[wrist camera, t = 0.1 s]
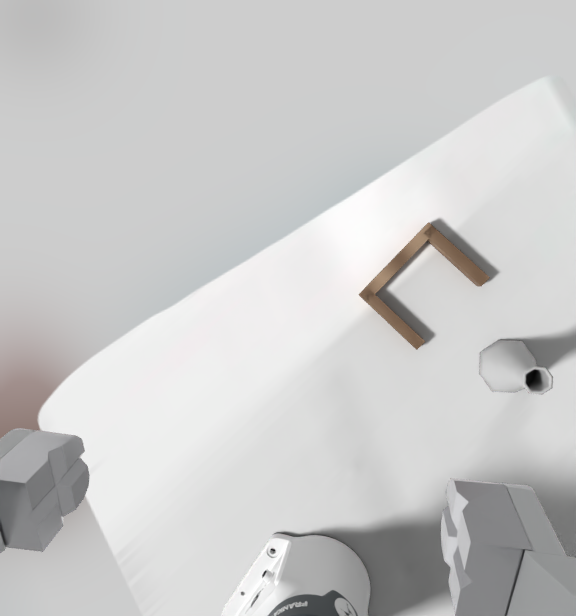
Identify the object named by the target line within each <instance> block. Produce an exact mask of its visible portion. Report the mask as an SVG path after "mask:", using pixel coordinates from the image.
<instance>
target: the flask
mask: <svg viewBox="0 0 576 616" xmlns="http://www.w3.org/2000/svg"><path fill="white" fill-rule="evenodd" d="M479 374H480V375H481V377H482V378H483V379H484V381H485V382H486V384H487V385H488V386H489V388H490V389H491V390H492V391H494V392H513V393H515V392H518V391H520V390H522V389H526V390H527V392H528V393H529V394H544V393H545V392H547V391H548V390H550V389H552V383H553V376H552V375H551V374H550V372H549V371H548V370H547V368H546V367H539V366H537V365H536V360H535V358H534V356H533V355H532V354H531V352H530V351H529V350H528V348H527V347H526V346H525V344H524V343H523V342H522V341H515V340H498V341H496V342H495V343H493V344H492V345H490V346H489V347H487V348H486V349H484V350H483V351H481V352H480V366H479Z"/></svg>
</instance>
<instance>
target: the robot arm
mask: <svg viewBox="0 0 576 616" xmlns="http://www.w3.org/2000/svg"><path fill="white" fill-rule="evenodd" d="M84 451H85V450H84V446H83V441H82V439H81V438H79V437H78V436H75V435H68V434H61V433H53V432H46V431H35V430H29V429H21V428H18V429H14V430H11V431H9V433H7V434H6V435H5V436H3V437H2V438H1V439H0V553H1V552H2V551H4V550H5V547H9V548H17V549H25V550H34V551H42V552H43V551H44V550H45V548H46V547H47V546H48V545H49V543H50V542H51V541H52V539H53V538H54V537H55V536H56V534H57V533H58V532H59V531H60V529H61V528H62V527H63V516H65V515H67V514H69V513H70V512H72V511H74V510H76V508H77V507H78V506H79V504H80V503H81V501H82V500H83V499H84V496H85V494H86V491H87V489H88V486H89V471H88V466H87V465H86V464H85V463H84V462H83V461H82V459H81V458H80V457H81V456H82V454H83V453H84ZM446 496H447V500H448V505H449V506H448V507H446V508H445V509H444V510H443V513H442V520H441V544H442V552H443V557H444V561H445V562H446V563H447V564H448V565H449V567H450V568H451V569H450V575H449V580H448V583H449V588H450V593H451V597H452V602H453V607H454V612H455V616H576V557H571V556H567V555H566V553H565V551H564V549H563V547H562V545H561V543H560V541H559V539H558V537H557V535H556V533H555V531H554V529H553V527H552V525H551V523H550V521H549V519H548V517H547V515H546V513H545V511H544V509H543V507H542V505H541V503H540V501H539V499H538V497H537V495H536V493H535V491H534V489H532V488H531V487H530V486H529V485H519V484H508V483H502V484H500V483H493V482H483V481H474V480H464V479H455V478H450V480H449V482H448V485H447V490H446ZM271 548H274V549H275V550H276V551H272V550H271ZM370 592H371V589H370V580H369V576H368V573H367V570H366V568H365V566H364V564H363V563H362V561H361V560H360V558H359V557H358V556H357V554H356V553H355V552H354V551H353V550H351V549H350V548H349V547H348V546H346V545H345V544H343V543H342V542H340V541H338V540H335V539H333V538H330V537H326V536H320V535H309V536H302V537H292V536H289V535H285V534H273V535H272V536H271V537H270V538H269V540H268V541H267V543H266V544H265V546H264V547H263V549H262V550H261V552H260V553H259V555H258V556H257V558H256V559H255V561H254V562H253V564H252V565H251V567H250V568H249V570H248V571H247V573H246V574H245V576H244V577H243V579H242V580H241V582H240V583H239V585H238V586H237V588H236V589H235V591H234V592H233V594H232V595H231V597H230V598H229V600H228V601H227V603H226V604H225V606H224V608H223V611H222V616H369V615H368V606H369V600H370Z"/></svg>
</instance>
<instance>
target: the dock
mask: <svg viewBox="0 0 576 616" xmlns="http://www.w3.org/2000/svg"><path fill="white" fill-rule="evenodd" d="M426 241H428V242H429V243H430V244H431V245H432V246H434V247H435V248H436V249H437V250H438V251H439V252H440V253H441V254H442V255H443V256H445V257H446V258H447V259H448V260H449V261H450V262H451V263H452V264H453V265H454V266H455V267H457V268H458V269H459V270H460V271H461V272H462V273H463V274H464V275H465V276H466V277H468V278H469V279H470V280H471V281H472V282H473V283H474V284H475V285H476V286H482V285H483V284H484V283H485V282H486V281H487V280H488V279H489V278H490V277H489V276H487V275H486V274H485V273H484V272H483V271H482V270H481V269H480V268H479V267H478V266H476V265H475V264H474V263H473V262H472V261H471V260H470V259H469V258H468V257H467V256H465V255H464V254H463V253H462V252H461V251H460V250H459V249H458V248H457V247H456V246H454V245H453V244H452V243H451V242H450V241H449V240H448V239H447V238H446V237H445V236H443V235H442V234H441V233H440V232H439V231H438V230H437V229H436V228H435V227H434V226H432V225H431V224H430V223H427V224H426V225H425V227H424V228H423V229H422V230H421V231H420V232H419V233H418V234H417V235H416V236H415V237H414V238H413V239H412V240H411V241H410V242H409V243H408V244H407V245H406V246H405V247H404V248H403V249H402V250H401V251H400V252H399V253H398V254H397V255H396V256H395V258H394V259H393V260H392V261H391V262H390V263H389V264H388V265H387V266H386V267H385V268H384V269H383V270H382V271H381V272H380V273H379V274H378V275H377V276H376V277H375V278H374V279H373V280H372V281H371V282H370V283H369V284H368V285H367V286H366V288H365V289H364V290H363V291H362V292H361V293H360V294H359V296H360V297H362V298H363V299H364V300H365V301H366V302H367V303H368V304H369V305H370V306H371V307H372V308H373V309H374V310H375V311H376V312H377V313H378V314H380V315H381V316H382V317H383V318H384V319H385V320H386V321H387V322H388V323H389V324H390V325H391V326H392V327H393V328H394V329H395V330H396V331H398V332H399V333H400V334H401V335H402V336H403V337H404V338H405V339H406V340H407V341H408V342H409V343H410V344H411V345H412V346H413V347H415V348H416V349H418V348H419V347H420V346H421V345H422V344H423V343H424V342H425V341H424V340H423V339H422V338H421V337H420V336H419V335H418V334H417V333H416V332H414V331H413V330H412V329H411V328H410V327H409V326H408V325H407V324H406V323H405V322H404V321H403V320H402V319H401V318H400V317H399V316H397V315H396V314H395V313H394V312H393V311H392V310H391V309H390V308H389V307H388V306H387V305H386V304H385V303H384V302H383V301H381V300H380V299H379V298H378V297H377V296H376V295H375V294H376V293H377V292H378V291H379V290H380V289H381V288H382V287H383V285H384V284H385V283H386V282H387V281H388V280H389V279H390V278H391V277H392V276H393V275H394V274H395V273H396V272H397V271H398V270H399V269H400V268H401V267H402V266H403V265H404V264H405V263H406V262H407V261H408V260H409V259H410V258H411V257H412V256H413V255H414V254H415V253H416V252H417V251H418V250H419V248H420V247H421V246H422V245H423V244H424V243H425V242H426Z"/></svg>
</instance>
